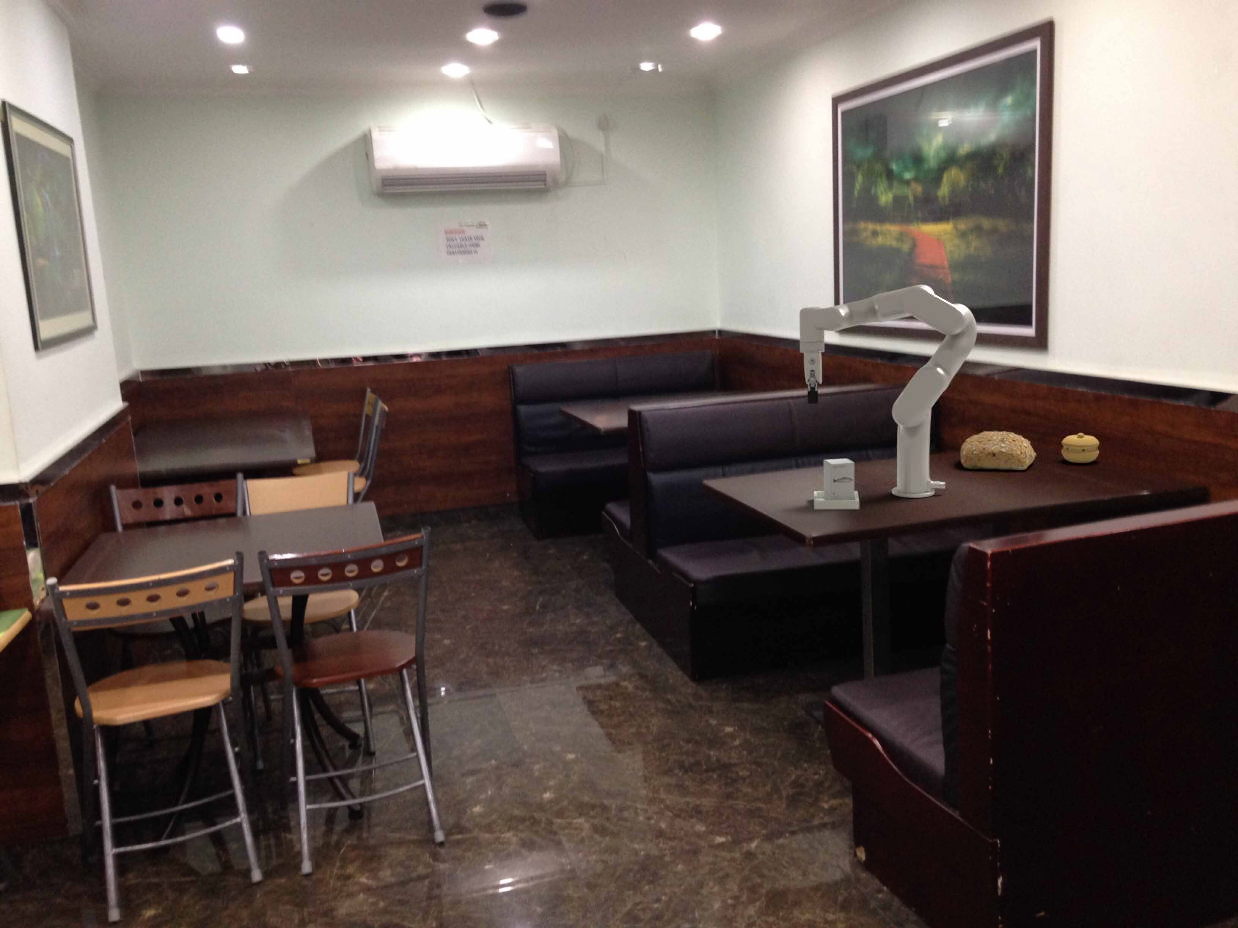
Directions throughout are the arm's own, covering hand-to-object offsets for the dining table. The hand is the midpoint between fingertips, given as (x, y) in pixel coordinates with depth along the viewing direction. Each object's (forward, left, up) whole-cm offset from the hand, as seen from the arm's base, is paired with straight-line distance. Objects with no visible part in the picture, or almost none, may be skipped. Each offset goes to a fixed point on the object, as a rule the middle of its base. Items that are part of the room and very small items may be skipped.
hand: (812, 401), depth 327 cm
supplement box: (-7, +21, -28) cm, 36 cm away
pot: (-89, -38, -29) cm, 101 cm away
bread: (-62, -34, -29) cm, 76 cm away
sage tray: (-7, +21, -28) cm, 36 cm away
